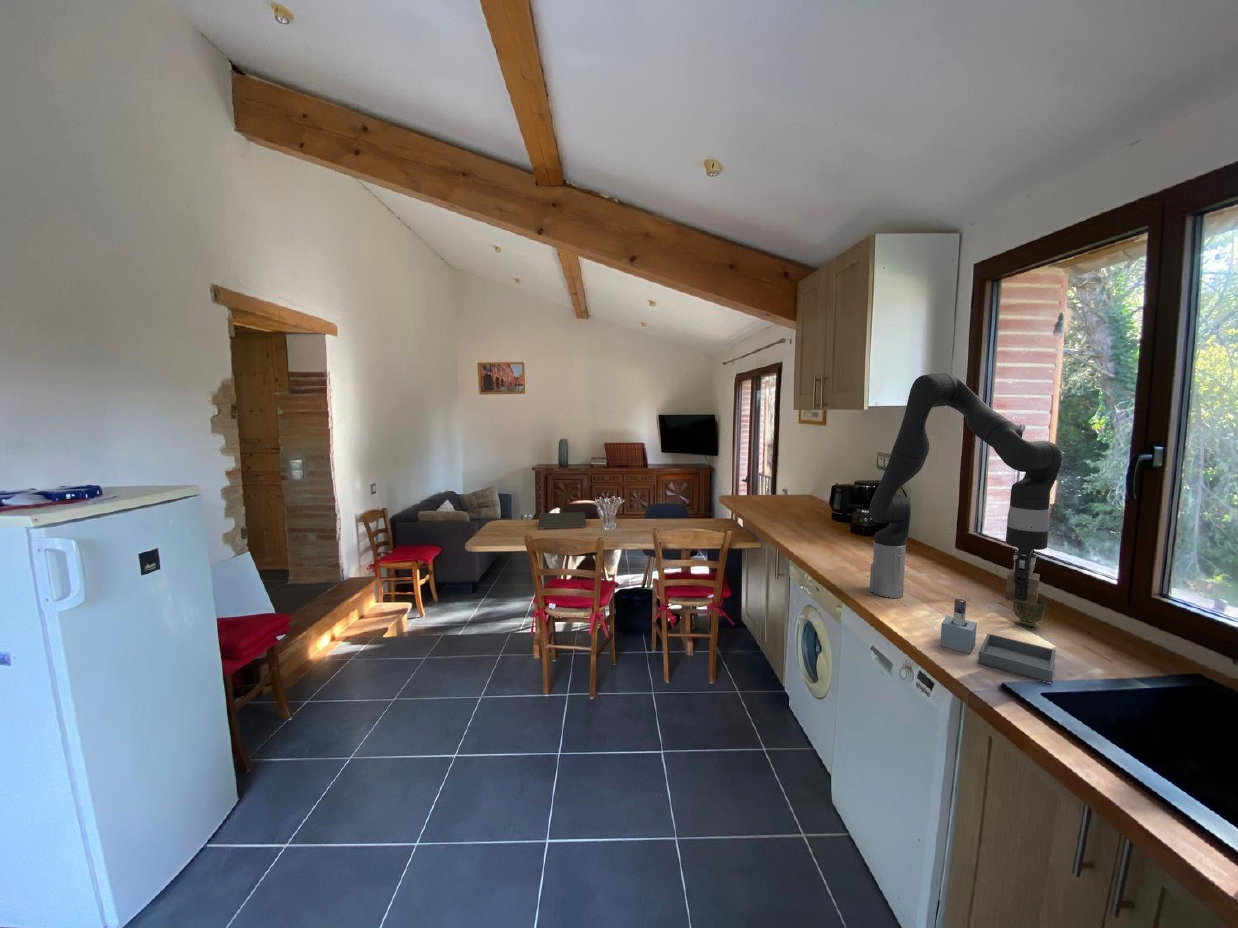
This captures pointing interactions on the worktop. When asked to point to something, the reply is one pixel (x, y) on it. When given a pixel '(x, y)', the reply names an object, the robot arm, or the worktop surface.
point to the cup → (1030, 612)
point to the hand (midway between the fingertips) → (1021, 595)
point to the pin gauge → (959, 612)
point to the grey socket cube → (958, 635)
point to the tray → (1018, 657)
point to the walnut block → (1032, 588)
